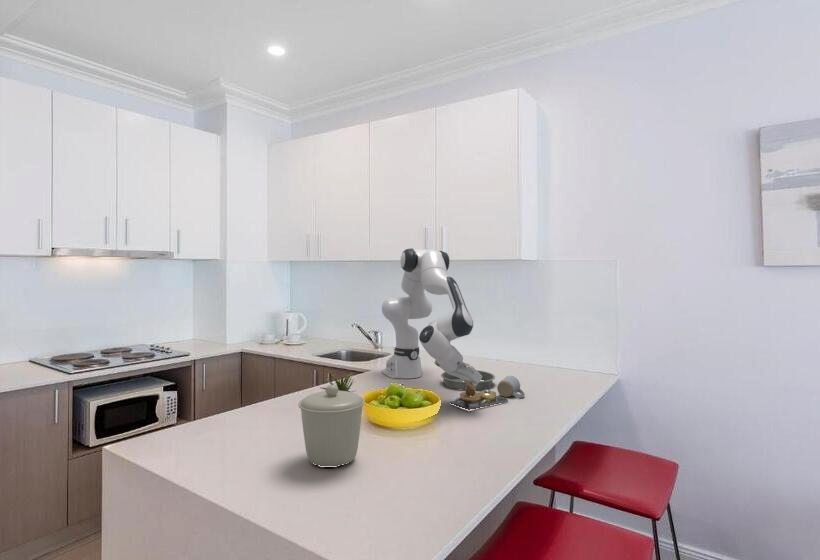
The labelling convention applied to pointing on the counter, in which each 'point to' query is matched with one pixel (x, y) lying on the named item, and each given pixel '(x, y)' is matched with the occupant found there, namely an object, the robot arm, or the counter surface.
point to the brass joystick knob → (470, 394)
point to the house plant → (342, 383)
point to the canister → (331, 426)
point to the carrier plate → (486, 400)
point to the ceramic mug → (510, 387)
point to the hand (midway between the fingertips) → (471, 383)
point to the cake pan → (459, 384)
